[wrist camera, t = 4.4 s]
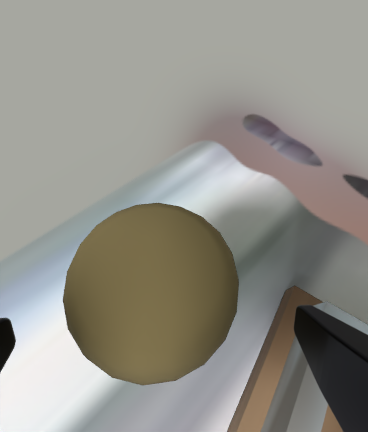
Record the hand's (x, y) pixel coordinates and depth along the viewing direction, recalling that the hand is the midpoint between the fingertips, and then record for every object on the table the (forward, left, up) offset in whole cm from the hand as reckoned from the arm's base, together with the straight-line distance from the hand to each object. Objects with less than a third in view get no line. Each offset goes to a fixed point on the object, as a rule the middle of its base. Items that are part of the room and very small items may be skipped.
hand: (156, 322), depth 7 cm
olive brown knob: (+1, -1, -9) cm, 9 cm away
